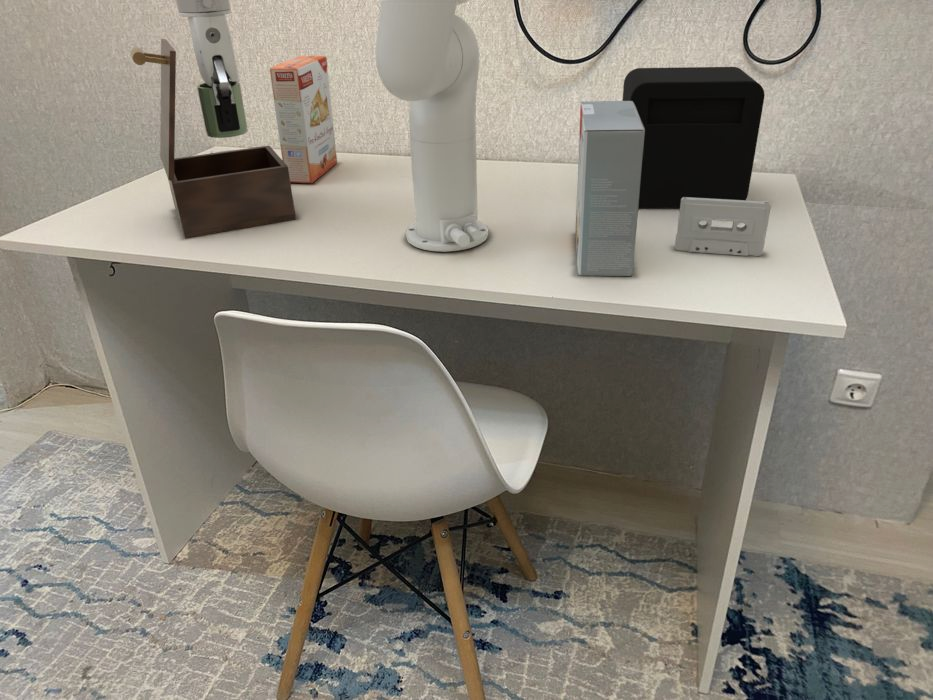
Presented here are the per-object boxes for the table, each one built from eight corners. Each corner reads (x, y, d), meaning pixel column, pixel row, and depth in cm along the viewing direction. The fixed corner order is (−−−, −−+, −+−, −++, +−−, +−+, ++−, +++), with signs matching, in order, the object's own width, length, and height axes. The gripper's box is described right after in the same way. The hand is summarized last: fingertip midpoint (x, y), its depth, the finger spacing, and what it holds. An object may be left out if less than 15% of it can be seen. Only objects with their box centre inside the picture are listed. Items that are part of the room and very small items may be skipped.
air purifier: (728, 181, 133) (746, 64, 123) (747, 209, 121) (768, 81, 111) (615, 181, 135) (623, 66, 125) (621, 208, 123) (631, 82, 113)
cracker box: (314, 184, 139) (298, 67, 128) (284, 183, 140) (266, 67, 130) (340, 163, 151) (327, 54, 140) (312, 162, 152) (297, 54, 141)
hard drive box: (574, 234, 113) (580, 100, 103) (624, 234, 113) (635, 99, 103) (576, 276, 100) (584, 127, 90) (634, 277, 99) (647, 127, 89)
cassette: (761, 252, 105) (771, 200, 101) (762, 257, 104) (772, 205, 100) (674, 246, 108) (680, 195, 104) (674, 251, 107) (680, 200, 103)
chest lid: (166, 39, 116) (128, 33, 114) (175, 51, 105) (134, 45, 102) (165, 157, 124) (130, 154, 122) (174, 180, 112) (135, 178, 110)
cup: (250, 134, 118) (242, 85, 114) (209, 139, 116) (199, 90, 112) (243, 126, 123) (235, 79, 119) (204, 130, 121) (194, 83, 117)
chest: (277, 194, 135) (269, 145, 130) (296, 219, 123) (288, 166, 119) (175, 210, 129) (163, 159, 124) (184, 238, 117) (171, 183, 112)
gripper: (238, 6, 104) (259, 134, 113) (220, -3, 118) (240, 112, 127) (183, 10, 102) (209, 141, 111) (171, 0, 115) (195, 117, 124)
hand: (225, 124), depth 119 cm, fingers closed on cup, 6 cm apart
